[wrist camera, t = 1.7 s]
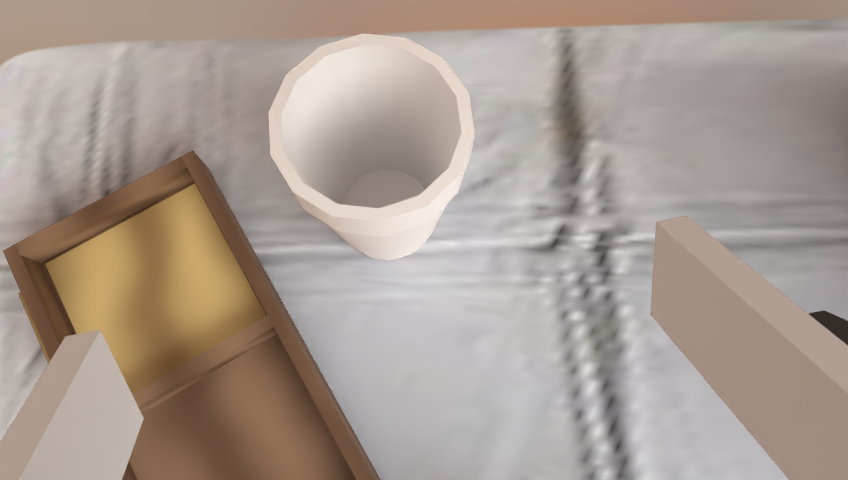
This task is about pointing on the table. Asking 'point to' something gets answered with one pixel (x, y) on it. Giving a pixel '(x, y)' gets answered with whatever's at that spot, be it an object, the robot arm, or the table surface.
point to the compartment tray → (188, 333)
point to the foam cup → (373, 140)
